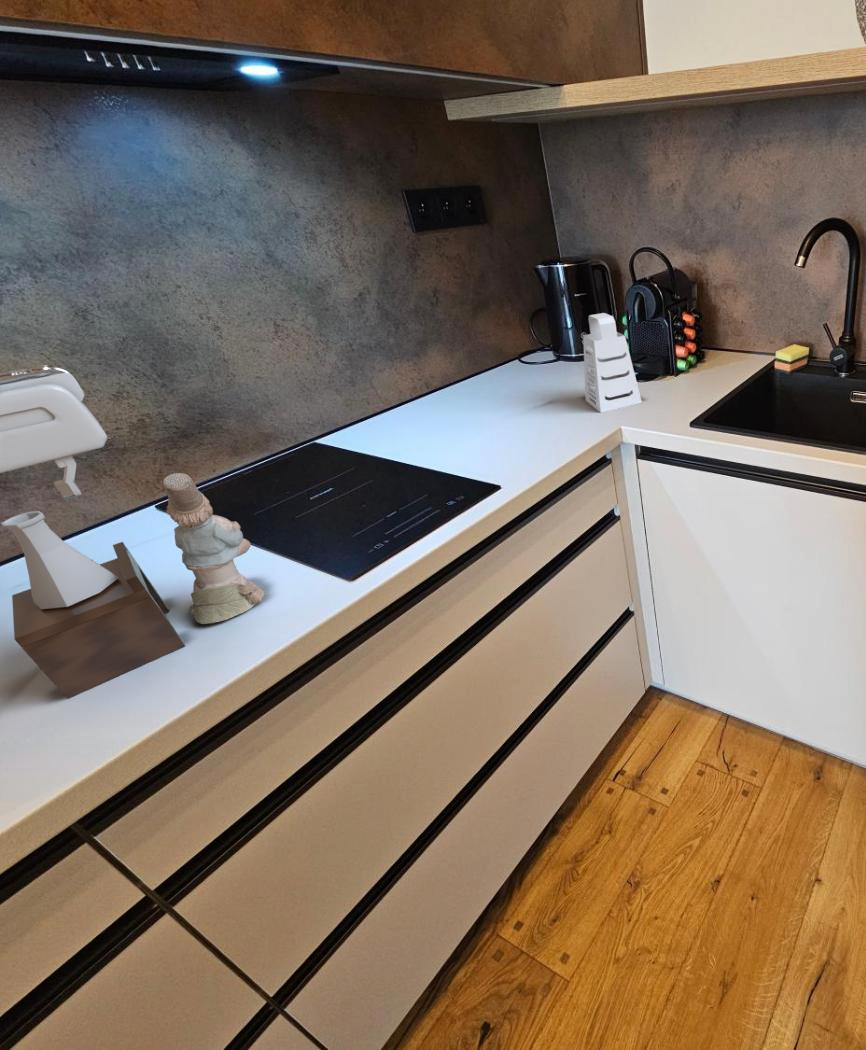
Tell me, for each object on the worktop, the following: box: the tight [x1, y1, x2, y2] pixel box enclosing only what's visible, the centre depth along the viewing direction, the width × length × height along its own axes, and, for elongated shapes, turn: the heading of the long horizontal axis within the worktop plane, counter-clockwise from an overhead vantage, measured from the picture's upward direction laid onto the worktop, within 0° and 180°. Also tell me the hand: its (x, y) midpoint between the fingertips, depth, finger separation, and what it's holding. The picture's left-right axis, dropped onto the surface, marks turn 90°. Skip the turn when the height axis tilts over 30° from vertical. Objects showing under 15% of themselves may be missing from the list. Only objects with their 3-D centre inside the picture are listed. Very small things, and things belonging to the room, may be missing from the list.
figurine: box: [162, 472, 266, 625], centre depth 74 cm, size 9×8×20 cm
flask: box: [0, 510, 118, 609], centre depth 66 cm, size 7×7×10 cm
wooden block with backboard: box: [11, 541, 186, 700], centre depth 70 cm, size 11×12×11 cm
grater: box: [582, 312, 643, 414], centre depth 136 cm, size 10×10×20 cm
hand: (14, 512), depth 63 cm, fingers open, 8 cm apart
